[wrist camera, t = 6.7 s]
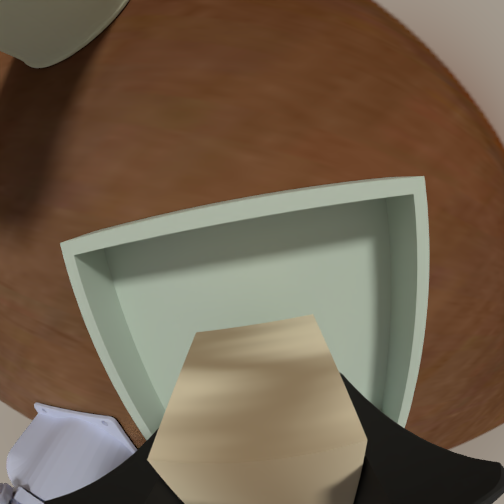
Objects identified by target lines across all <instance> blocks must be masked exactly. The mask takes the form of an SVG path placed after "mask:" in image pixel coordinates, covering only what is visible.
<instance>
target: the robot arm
mask: <svg viewBox="0 0 504 504" xmlns="http://www.w3.org/2000/svg"><path fill="white" fill-rule="evenodd" d="M340 376H341V378H342V380H343V382H344V385H345V387H346V389H347V392H348V394H349V397H350V399H351V401H352V404H353V406H354V408H355V411H356V413H357V416H358V418H359V420H360V423H361V425H362V428H363V430H364V433H365V435H366V438H367V445H366V451H365V456H364V461H363V466H362V470H361V475H360V479H359V483H358V487H357V491H356V495H355V499H354V502H353V504H492V503H493V502H494V501H496V500H497V499H498V498H499V497H500V496H501V495H502V494H503V493H504V468H503V466H502V465H501V464H500V463H498V462H492V461H486V460H480V459H475V458H471V457H467V456H464V455H461V454H457V453H454V452H451V451H449V450H447V449H444V448H442V447H439V446H437V445H434V444H432V443H430V442H428V441H426V440H424V439H422V438H420V437H418V436H416V435H415V434H413V433H411V432H410V431H408V430H406V429H405V428H403V427H402V426H400V425H399V424H397V423H396V422H394V421H393V420H392V419H390V418H389V417H388V416H386V415H385V414H384V413H383V412H381V411H380V410H379V409H378V408H376V407H375V406H374V405H373V404H372V403H371V402H370V401H368V400H367V399H366V398H365V397H364V396H363V395H362V394H361V393H360V392H359V391H358V390H357V389H356V388H355V387H354V386H353V385H352V384H351V383H350V382H349V381H348V380H347V378H346V377H345V376H344V375H343V374H342V373H340ZM34 407H35V409H36V410H37V412H38V414H37V416H36V417H35V418H34V419H33V421H32V422H31V423H30V425H29V426H28V427H27V428H26V430H25V431H24V432H23V434H22V435H21V436H20V438H19V439H18V440H17V442H16V443H15V445H14V446H13V447H12V449H11V450H10V452H9V454H8V457H7V473H8V476H9V479H10V481H11V482H12V484H13V486H14V487H13V488H12V487H11V486H10V485H8V484H7V483H4V484H3V483H0V504H185V503H184V502H183V501H182V500H181V499H180V498H179V497H178V496H177V495H176V494H175V493H174V492H173V490H172V489H171V488H170V487H169V486H168V485H167V484H166V482H165V481H164V480H163V479H162V478H161V476H160V475H159V474H158V473H157V472H156V470H155V469H154V468H153V466H152V465H151V464H150V463H149V461H148V460H147V459H148V456H149V454H150V451H151V448H152V445H153V443H154V440H155V437H156V435H157V432H158V429H159V428H158V429H157V430H156V431H155V432H154V433H153V435H152V436H151V437H150V438H149V439H148V440H147V441H146V442H145V443H144V444H143V445H142V446H141V447H140V448H139V449H138V450H137V449H136V448H135V446H134V445H133V443H132V442H131V441H130V439H129V438H128V436H127V435H126V434H125V432H124V431H123V429H122V428H121V426H120V425H119V423H118V422H117V420H116V419H114V418H113V417H110V416H103V415H96V414H89V413H83V412H78V411H72V410H67V409H62V408H58V407H53V406H49V405H45V404H41V403H35V404H34Z"/></svg>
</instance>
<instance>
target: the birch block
mask: <svg viewBox="0 0 504 504" xmlns="http://www.w3.org/2000/svg"><path fill="white" fill-rule="evenodd" d="M366 445H367V438H366V435H365V433H364V430H363V428H362V425H361V423H360V420H359V418H358V416H357V413H356V411H355V408H354V406H353V404H352V401H351V399H350V397H349V394H348V392H347V389H346V387H345V385H344V382H343V380H342V378H341V376H340V373H339V371H338V369H337V366H336V364H335V362H334V360H333V357H332V355H331V353H330V350H329V348H328V346H327V344H326V341H325V339H324V337H323V335H322V333H321V330H320V328H319V326H318V324H317V322H316V319H315V317H314V315H313V314H311V315H306V316H301V317H296V318H290V319H284V320H279V321H273V322H267V323H261V324H254V325H248V326H241V327H234V328H227V329H219V330H211V331H203V332H196V334H195V336H194V339H193V341H192V344H191V346H190V349H189V351H188V354H187V356H186V359H185V362H184V364H183V367H182V369H181V372H180V374H179V377H178V379H177V382H176V385H175V387H174V390H173V392H172V395H171V397H170V400H169V403H168V405H167V408H166V411H165V413H164V416H163V419H162V421H161V424H160V427H159V429H158V432H157V435H156V437H155V440H154V443H153V445H152V448H151V451H150V454H149V456H148V459H147V460H148V461H149V463H150V464H151V465H152V466H153V468H154V469H155V470H156V472H157V473H158V474H159V475H160V476H161V478H162V479H163V480H164V481H165V482H166V484H167V485H168V486H169V487H170V488H171V489H172V490H173V492H174V493H175V494H176V495H177V496H178V497H179V498H180V499H181V500H182V501H183V502H184V503H185V504H353V502H354V499H355V495H356V491H357V487H358V483H359V479H360V475H361V470H362V466H363V461H364V456H365V451H366Z"/></svg>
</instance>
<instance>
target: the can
mask: <svg viewBox="0 0 504 504" xmlns="http://www.w3.org/2000/svg"><path fill="white" fill-rule="evenodd" d="M128 1H129V0H0V51H2V52H4V53H6V54H9V55H11V56H13V57H15V58H17V59H20V60H22V61H24V63H25V64H26V65H28V66H30V67H33V68H44V67H48V66H51V65H54V64H57V63H59V62H61V61H63V60H65V59H66V58H68V57H70V56H71V55H73V54H74V53H76V52H77V51H79V50H80V49H82V48H83V47H84V46H86V45H87V44H88V43H89V42H91V41H92V40H93V39H94V38H95V37H96V36H98V35H99V34H100V33H101V32H102V31H103V30H104V29H105V28H106V27H107V26H108V25H109V24H110V23H111V22H112V21H113V20H114V19H115V18H116V17H117V15H118V14H119V13H120V12H121V11H122V10H123V8H124V7H125V6H126V4H127V3H128Z"/></svg>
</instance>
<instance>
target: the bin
mask: <svg viewBox="0 0 504 504" xmlns="http://www.w3.org/2000/svg"><path fill="white" fill-rule="evenodd" d="M60 245H61V249H62V253H63V257H64V261H65V264H66V268H67V271H68V275H69V278H70V281H71V284H72V288H73V291H74V294H75V297H76V300H77V302H78V305H79V308H80V311H81V314H82V316H83V319H84V321H85V324H86V327H87V329H88V332H89V334H90V336H91V339H92V341H93V343H94V346H95V348H96V350H97V352H98V355H99V357H100V359H101V361H102V363H103V365H104V367H105V369H106V371H107V373H108V375H109V377H110V379H111V381H112V383H113V385H114V387H115V389H116V391H117V393H118V394H119V396H120V398H121V400H122V402H123V403H124V405H125V407H126V409H127V410H128V412H129V414H130V415H131V417H132V419H133V420H134V422H135V423H136V425H137V427H138V428H139V430H140V431H141V433H142V434H143V436H144V437H145V439H146V440H148V439H149V438H150V437H151V436H152V435H153V433H154V432H155V431H156V430H157V429H158V428H159V427H160V424H161V421H162V419H163V416H164V413H165V411H166V408H167V405H168V403H169V400H170V397H171V395H172V392H173V390H174V387H175V385H176V382H177V379H178V377H179V374H180V372H181V369H182V367H183V364H184V362H185V359H186V356H187V354H188V351H189V349H190V346H191V344H192V341H193V339H194V336H195V334H196V332H203V331H211V330H219V329H227V328H234V327H241V326H248V325H254V324H261V323H267V322H273V321H279V320H284V319H290V318H296V317H301V316H306V315H311V314H313V315H314V317H315V319H316V322H317V324H318V326H319V328H320V330H321V333H322V335H323V337H324V339H325V341H326V344H327V346H328V348H329V350H330V353H331V355H332V357H333V360H334V362H335V364H336V366H337V369H338V371H339V373H342V374H343V375H344V376H345V377H346V378H347V380H348V381H349V382H350V383H351V384H352V385H353V386H354V387H355V388H356V389H357V390H358V391H359V392H360V393H361V394H362V395H363V396H364V397H365V398H366V399H367V400H368V401H370V402H371V403H372V404H373V405H374V406H375V407H376V408H378V409H379V410H380V411H381V412H383V413H384V414H385V415H386V416H388V417H389V418H390V419H392V420H393V421H394V422H396V423H397V424H399V425H400V426H402V427H403V428H405V425H406V421H407V418H408V414H409V411H410V407H411V403H412V399H413V395H414V390H415V386H416V381H417V376H418V371H419V366H420V360H421V354H422V348H423V341H424V333H425V325H426V315H427V304H428V288H429V225H428V209H427V197H426V188H425V179H424V176H414V177H387V178H377V179H368V180H359V181H351V182H342V183H335V184H327V185H320V186H313V187H306V188H299V189H293V190H286V191H280V192H274V193H268V194H262V195H256V196H251V197H245V198H240V199H234V200H229V201H224V202H219V203H213V204H208V205H204V206H199V207H194V208H189V209H185V210H180V211H175V212H171V213H166V214H162V215H158V216H153V217H149V218H145V219H141V220H137V221H133V222H128V223H124V224H121V225H117V226H113V227H109V228H105V229H101V230H98V231H94V232H91V233H88V234H85V235H82V236H79V237H76V238H73V239H71V240H68V241H65V242H62V243H60Z"/></svg>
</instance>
